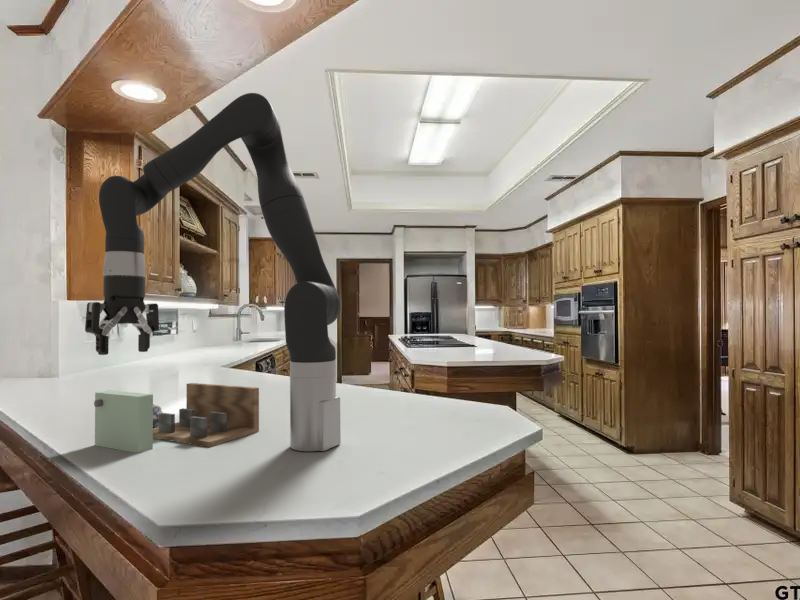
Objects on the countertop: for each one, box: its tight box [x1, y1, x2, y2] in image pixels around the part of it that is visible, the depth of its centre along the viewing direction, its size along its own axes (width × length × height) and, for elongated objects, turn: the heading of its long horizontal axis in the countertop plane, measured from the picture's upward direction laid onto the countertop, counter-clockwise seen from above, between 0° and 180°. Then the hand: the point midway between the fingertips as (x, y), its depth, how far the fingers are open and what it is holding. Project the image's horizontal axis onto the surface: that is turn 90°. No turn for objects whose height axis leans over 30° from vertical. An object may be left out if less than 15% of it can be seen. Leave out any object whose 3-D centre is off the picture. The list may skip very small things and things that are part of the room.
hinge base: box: [153, 382, 260, 448], centre depth 106 cm, size 22×14×10 cm, turn 64°
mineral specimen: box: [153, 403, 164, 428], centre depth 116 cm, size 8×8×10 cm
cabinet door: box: [93, 390, 154, 454], centre depth 95 cm, size 14×4×11 cm, turn 64°
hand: (124, 353), depth 97 cm, fingers open, 8 cm apart
